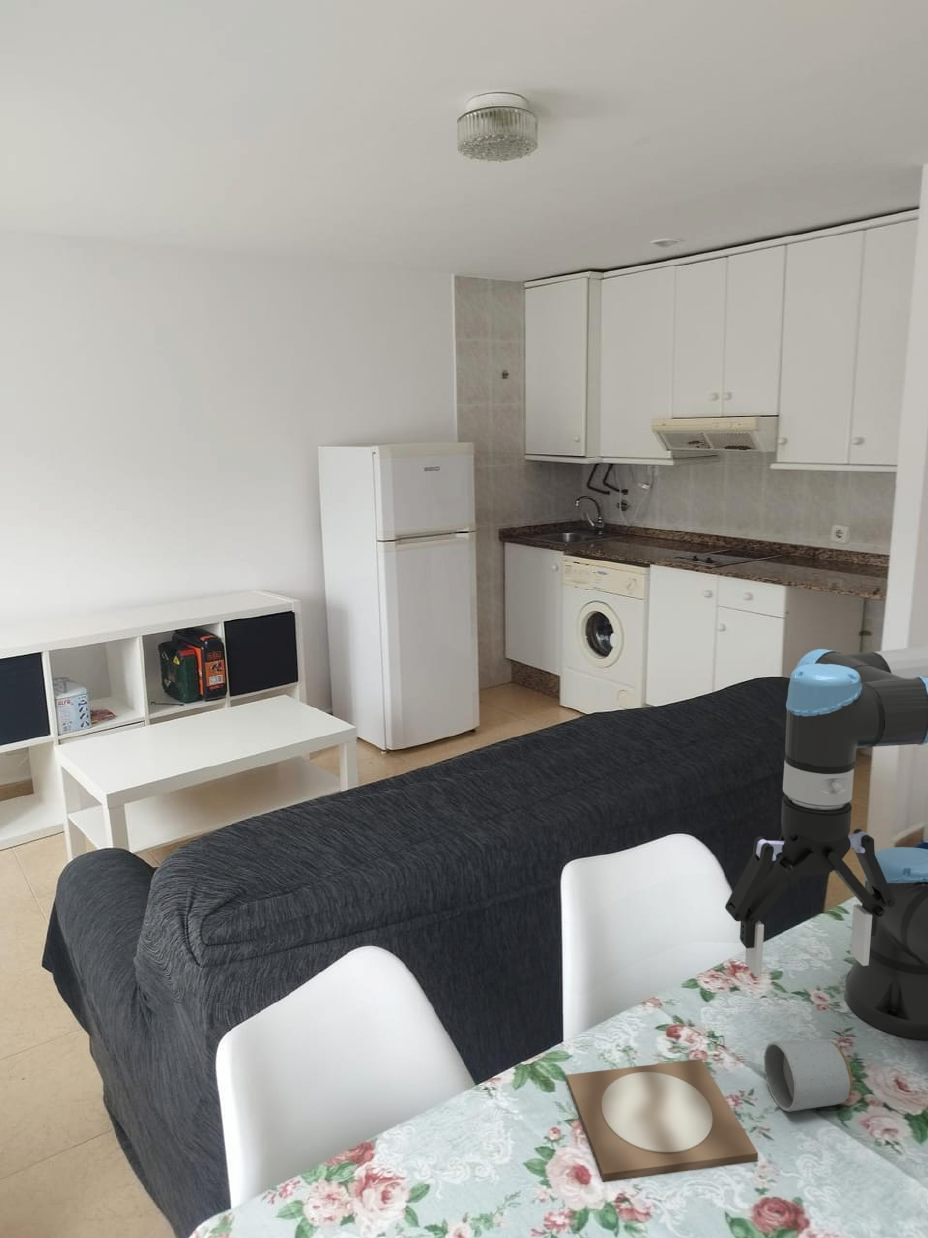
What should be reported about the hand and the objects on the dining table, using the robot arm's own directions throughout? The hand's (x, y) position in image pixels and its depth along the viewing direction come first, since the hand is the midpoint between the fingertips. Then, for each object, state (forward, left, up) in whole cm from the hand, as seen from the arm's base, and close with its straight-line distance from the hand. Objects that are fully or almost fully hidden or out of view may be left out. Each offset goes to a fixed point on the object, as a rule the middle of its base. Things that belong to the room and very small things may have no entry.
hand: (806, 965), depth 107 cm
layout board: (+19, +1, -18) cm, 26 cm away
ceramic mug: (0, -1, -18) cm, 18 cm away
